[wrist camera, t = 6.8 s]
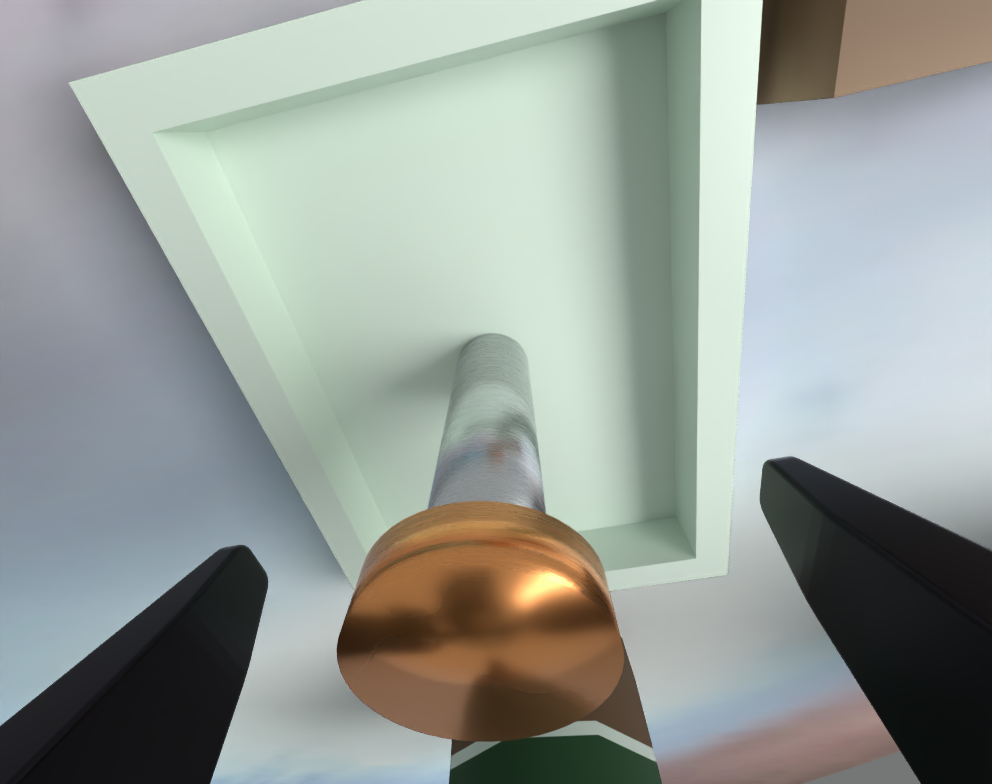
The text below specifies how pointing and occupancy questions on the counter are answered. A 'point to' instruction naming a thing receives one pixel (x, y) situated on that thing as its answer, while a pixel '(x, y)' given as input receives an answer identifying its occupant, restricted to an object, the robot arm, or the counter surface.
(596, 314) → the tray
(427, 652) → the pin
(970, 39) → the block
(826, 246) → the counter surface
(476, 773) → the beer bottle
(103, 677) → the robot arm
